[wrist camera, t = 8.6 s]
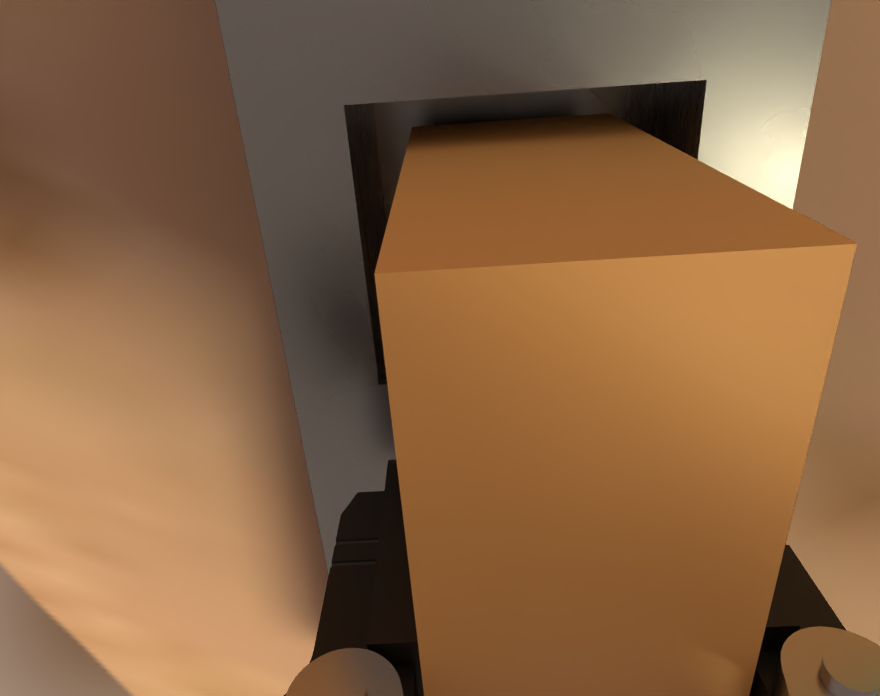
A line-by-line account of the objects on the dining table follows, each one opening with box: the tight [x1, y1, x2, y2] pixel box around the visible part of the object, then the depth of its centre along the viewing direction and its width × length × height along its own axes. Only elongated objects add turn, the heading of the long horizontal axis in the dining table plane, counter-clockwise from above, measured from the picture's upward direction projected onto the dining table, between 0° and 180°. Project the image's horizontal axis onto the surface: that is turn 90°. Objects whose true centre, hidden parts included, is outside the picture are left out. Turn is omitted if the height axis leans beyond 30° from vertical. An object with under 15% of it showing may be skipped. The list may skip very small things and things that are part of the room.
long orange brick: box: [374, 113, 857, 696], centre depth 10 cm, size 4×11×8 cm, turn 4°
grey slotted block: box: [215, 0, 831, 576], centre depth 14 cm, size 8×22×4 cm, turn 4°
